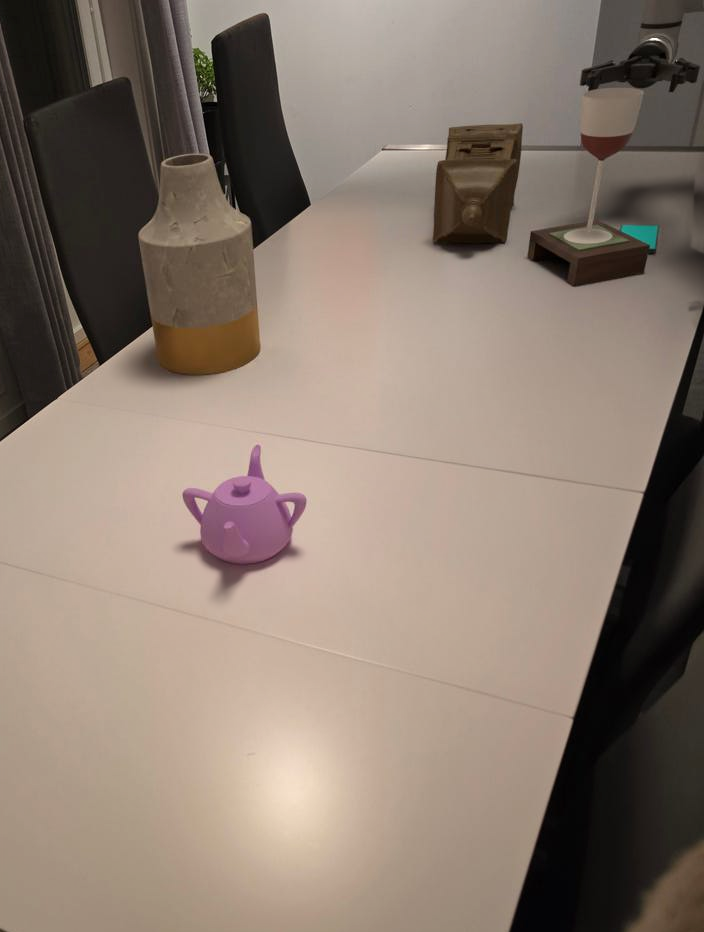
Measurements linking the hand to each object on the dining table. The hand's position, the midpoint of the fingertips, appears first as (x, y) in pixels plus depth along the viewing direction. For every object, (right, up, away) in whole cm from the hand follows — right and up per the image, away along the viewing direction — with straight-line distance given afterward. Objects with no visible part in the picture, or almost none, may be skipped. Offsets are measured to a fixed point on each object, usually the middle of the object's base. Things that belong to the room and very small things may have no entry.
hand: (631, 84), depth 150 cm
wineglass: (-5, -24, +8) cm, 26 cm away
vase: (-76, -49, -2) cm, 91 cm away
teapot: (-71, -88, -46) cm, 122 cm away
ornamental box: (-19, -11, +32) cm, 39 cm away
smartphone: (+10, -20, +17) cm, 28 cm away
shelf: (-4, -28, +11) cm, 30 cm away
